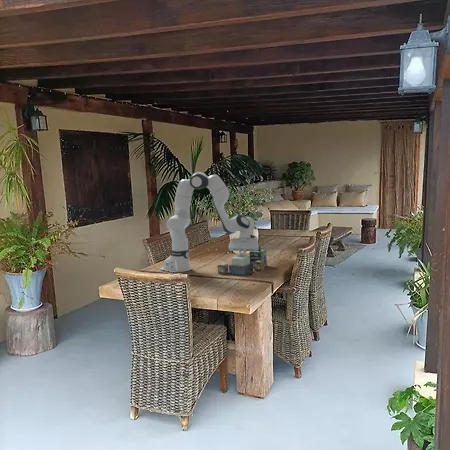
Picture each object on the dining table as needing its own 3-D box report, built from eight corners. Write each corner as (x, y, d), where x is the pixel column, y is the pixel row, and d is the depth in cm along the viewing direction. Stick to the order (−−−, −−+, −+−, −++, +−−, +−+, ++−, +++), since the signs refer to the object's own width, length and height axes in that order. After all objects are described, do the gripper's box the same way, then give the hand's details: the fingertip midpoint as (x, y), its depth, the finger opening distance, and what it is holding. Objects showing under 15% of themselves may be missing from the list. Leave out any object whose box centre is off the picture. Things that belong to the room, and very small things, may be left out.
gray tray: (229, 274, 291) (228, 265, 290) (237, 270, 301) (237, 261, 300) (245, 276, 285) (244, 267, 284) (253, 271, 295) (252, 263, 294)
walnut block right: (254, 271, 297) (253, 261, 296) (257, 269, 301) (257, 260, 300) (260, 271, 294) (260, 262, 293) (264, 269, 299) (263, 260, 298)
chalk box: (267, 265, 310) (266, 245, 308) (261, 268, 302) (260, 247, 300) (255, 264, 314) (254, 244, 312) (249, 267, 307) (248, 246, 305)
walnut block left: (217, 274, 293) (217, 264, 292) (222, 272, 297) (221, 263, 296) (224, 274, 290) (224, 265, 289) (228, 272, 295) (228, 263, 294)
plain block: (231, 269, 291) (231, 258, 290) (238, 266, 298) (238, 255, 297) (244, 271, 286) (243, 259, 285) (250, 267, 294) (249, 256, 293)
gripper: (229, 235, 301) (225, 252, 293) (258, 236, 294) (254, 253, 286) (232, 240, 306) (228, 257, 298) (260, 241, 299) (257, 258, 291)
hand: (241, 255), depth 292 cm, fingers closed
